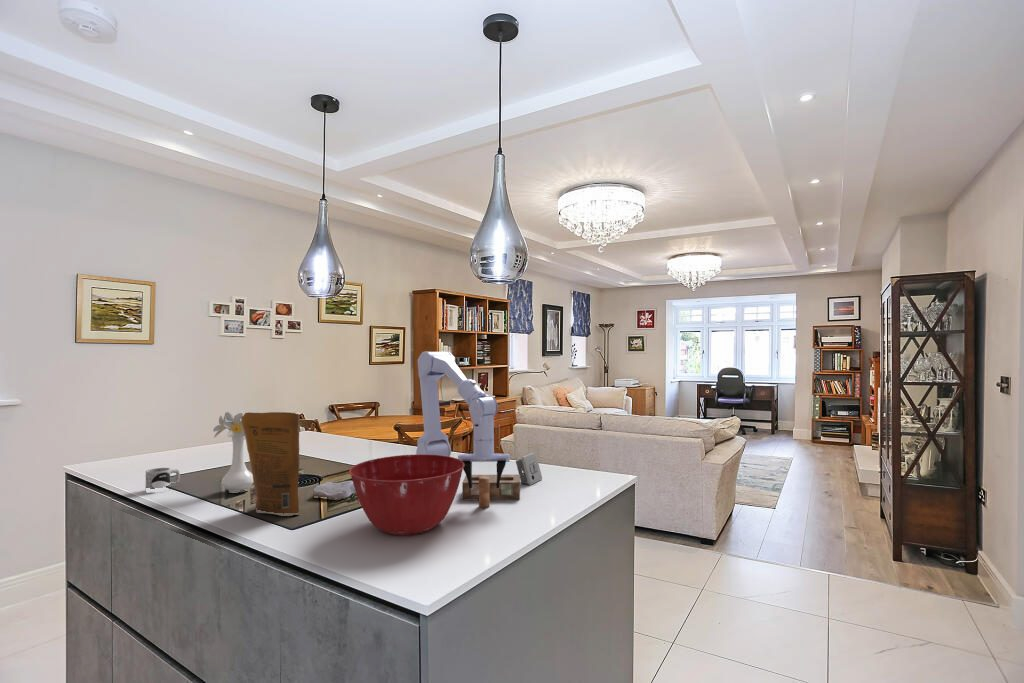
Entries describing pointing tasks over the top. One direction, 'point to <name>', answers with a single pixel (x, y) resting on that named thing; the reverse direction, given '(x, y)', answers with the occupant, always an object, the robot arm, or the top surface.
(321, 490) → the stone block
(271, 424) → the pancake mix bag
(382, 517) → the mixing bowl
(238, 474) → the flower vase
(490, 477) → the socket block
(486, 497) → the peg
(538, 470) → the electrical switch
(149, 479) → the mug
